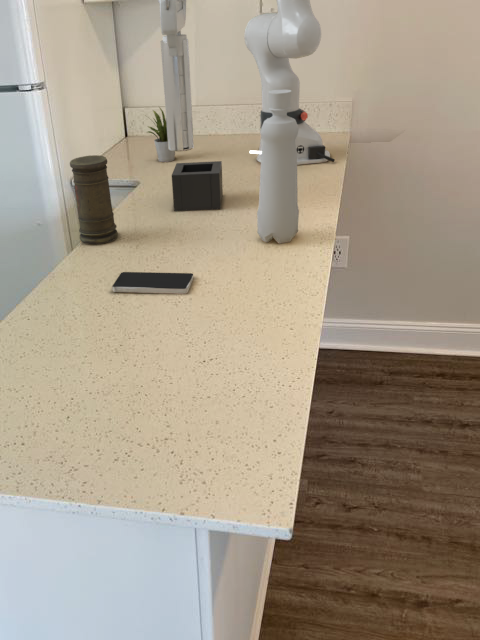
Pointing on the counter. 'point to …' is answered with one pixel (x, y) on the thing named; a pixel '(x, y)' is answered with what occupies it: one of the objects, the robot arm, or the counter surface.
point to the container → (93, 200)
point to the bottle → (278, 172)
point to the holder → (197, 186)
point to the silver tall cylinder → (177, 95)
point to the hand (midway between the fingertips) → (175, 53)
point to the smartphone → (153, 282)
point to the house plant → (162, 139)
